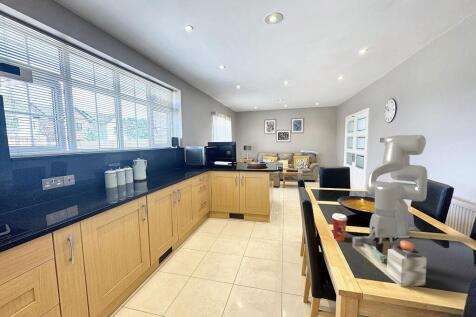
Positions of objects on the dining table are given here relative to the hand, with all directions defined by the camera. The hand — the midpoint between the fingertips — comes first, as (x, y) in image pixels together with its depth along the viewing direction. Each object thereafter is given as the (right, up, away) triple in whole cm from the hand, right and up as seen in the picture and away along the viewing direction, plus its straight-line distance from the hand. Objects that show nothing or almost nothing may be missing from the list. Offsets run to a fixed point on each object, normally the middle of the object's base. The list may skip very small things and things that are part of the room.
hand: (382, 250), depth 87 cm
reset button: (0, +6, -12) cm, 14 cm away
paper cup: (-8, -5, +23) cm, 25 cm away
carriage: (0, -4, 0) cm, 4 cm away
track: (0, -6, 0) cm, 6 cm away
